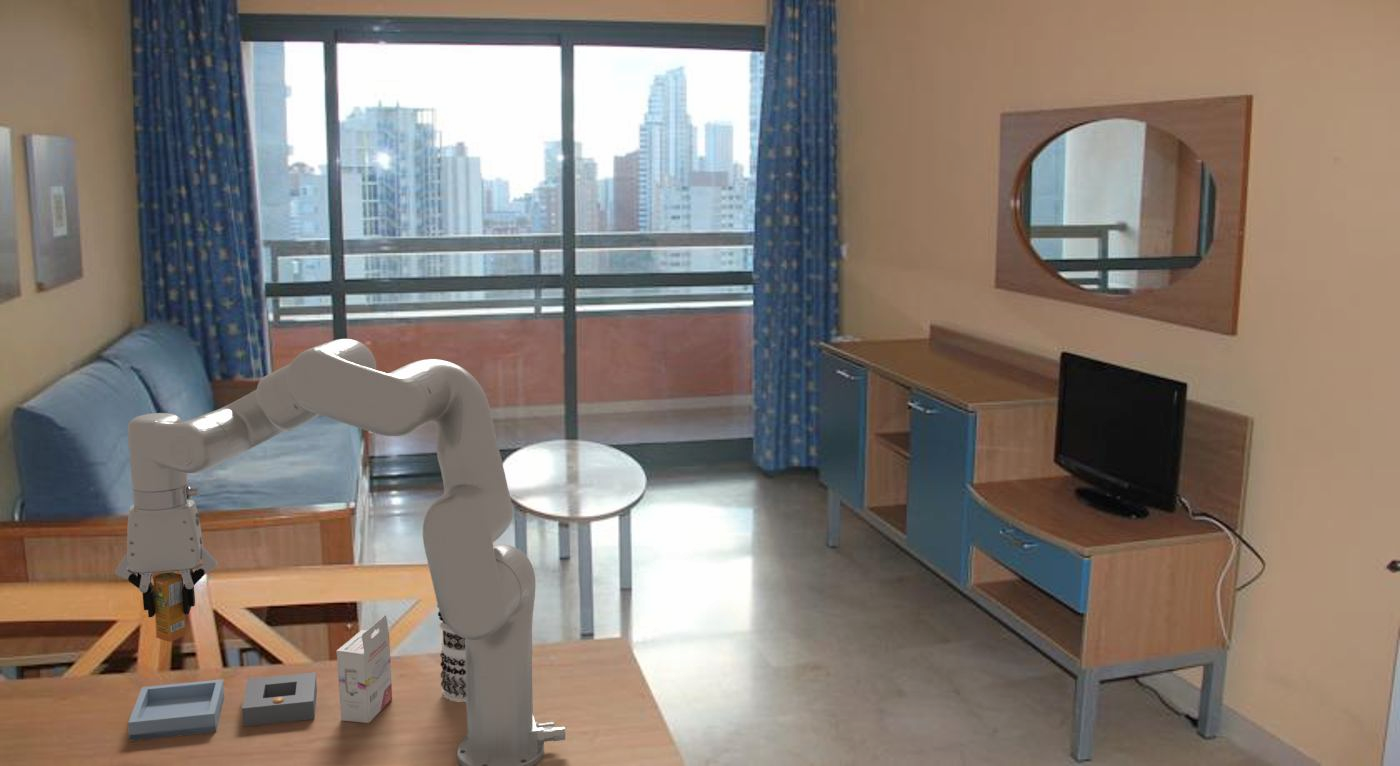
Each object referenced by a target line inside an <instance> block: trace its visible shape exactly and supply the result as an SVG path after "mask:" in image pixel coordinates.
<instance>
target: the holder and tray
mask: <svg viewBox="0 0 1400 766" xmlns="http://www.w3.org/2000/svg"><path fill="white" fill-rule="evenodd" d="M224 684H225V683H224V679H223V678H221V679H213V680H203V681H192V682H191V681H190V682H181V683H170V684H161V685H160V684H159V685H150V686H142V687H141V688H140V692H139V694H138V697H137V699H136V702H135V703H134V707H133V709H132V711H131V714H130V717H129V719H128V723H127V725H128V736H129V741H130V740H136V741H141V740H140V739H143V740H142V741H144V739H145V740H152V739H153V740H154V738H155V739H162V738H172V736H173V737H181V735H183V736H190V735H198V734H208V733H216V732H217V729H218V726H219V725H218V724H219V721H220V716H221V712H222V709H223V706H224V705H223V704H224V700H225V685H224ZM317 687H318V686H317V672H316V671H315V672H306V673H304V672H303V673H296V674H295V673H294V674H285V675H276V676H274V675H273V676H266V677H256V678H247V683H246V687H245V693H244V697H243V701H242V706H241V714H242V716H241V717H242V727H253V726H261V725H269V724H279V723H290V722H297V721H298V722H299V721H309V720H314V719H315V715H316V705H317V704H316V703H317V692H318V688H317ZM179 735H180V736H179Z"/></svg>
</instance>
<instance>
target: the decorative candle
mask: <svg viewBox="0 0 1400 766" xmlns="http://www.w3.org/2000/svg"><path fill="white" fill-rule="evenodd" d="M436 605H437V606H436V607H437V608H438V610H439V607H438V604H436ZM437 616H438V619H439V620H440V622H439V627H440V629H441V630H442V641H441V651H440V654H439V656H440V658H441V662H440V666H441V669H442V670H441V672H440V677H441V681H440V685H441V687H442V689H441V695H442V694H443V695H444V696H443V695H442V696H443V698H444V697H445V698H447V699H446V700H448V699H449V700H448V701H450V700H452V701H451V702H453V701H459V702H466V669H465V638H462V637H460V636H458V635H457V634H455V633H454V632H453V631H452V630H451V629H450V628H449V627H448V626H447V624H446V623H445V621H444V620H443V618H442V615H441V613H440V610H439V611H438V612H437ZM445 698H444V699H445ZM459 702H458V703H459Z"/></svg>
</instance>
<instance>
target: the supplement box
mask: <svg viewBox="0 0 1400 766" xmlns="http://www.w3.org/2000/svg"><path fill="white" fill-rule="evenodd" d="M152 578H153V579H152V580H153V585H154V602H155V615H154V617H155V638H157V639H159V640H162V641H165V642H168V643H169V642H170V643H171V642H174V641H175V640H176V641H177V640H179V639H181V638H184V637H186V635H187V628H186V627H187V625H186V614H184V612H183V599H182V589H183V587H184V581H183V578H182V575H181V573H176V572H175V571H171V572H161V573H160V574H157V575H155V576H152Z"/></svg>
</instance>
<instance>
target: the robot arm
mask: <svg viewBox="0 0 1400 766" xmlns="http://www.w3.org/2000/svg"><path fill="white" fill-rule="evenodd" d="M320 416H322V417H324V418H328V419H330V420H333V421H336V422H340V423H343V424H346V425H349V426H352V427H355V428H358V429H361V430H365V431H366V432H369V433H373V434H376V435H380V436H386V437H402V436H406V435H408V434H411V433H413V432H415V431H416V430H417V431H418V429H420V428H423V426H425V425H427V424H429V423H431V422H433V423H434V425H435V429H436V455H437V456H436V457H437V462H438V465H439V468H440V472H441V473H440V474H441V478H442V483H443V494H442V495H441V496H439V497H438V498H437V499H436V500H434V502H432V504H431V505H430V506H429V508H428V510H427V511H426V513H425V515H424V519H423V523H422V541H423V548H424V553H425V557H426V560H427V565H428V569H429V574H430V579H431V582H432V586H433V591H434V595H435V599H436V603H437V604H436V605H438V607H439V608H438V607H437V608H438V610H440V613H441V615H442V618H443V620H444V621H445V623H446V624H447V626H448V627H449V628H450V629H451V630H452V631H453V632H454V633H455V634H457V635H458V636H460V637H462V638H465V669H466V737H465V738H463V740H462V741H461V742H460V743H459V744H458V746H457V749H456V758H457V759H456V760H457V761H458V764H459V765H461V766H534V765H536V764H538V762H540V761H541V759H543V756H544V753H545V742H559V741H566V729H565V726H556V727H555V722H554V721H547V722H543V723H542V722H541V723H539V722H538V721H535V717H534V715H533V709H534V708H533V704H534V703H533V660H532V659H533V657H532V656H533V620H534V619H533V618H534V607H535V599H536V587H537V583H536V575H535V570H534V567H533V564H532V562H531V560H530V559H529V557H528V556H527V555H526V554H525V553H524V552H523V551H522V550H521V549H519V548H518V547H515V546H513V545H510V544H509V545H508V544H496V545H494V543H495V542H497V540H498V539H500V538H501V537H502V535H503V534H504V533H505V532H506V531H507V530H508V529H509V527H510V525H511V523H512V520H513V504H512V499H511V494H510V491H509V486H508V481H507V477H506V473H505V468H504V464H503V459H502V455H501V452H500V448H499V444H498V441H497V436H496V430H495V425H494V420H493V414H492V410H491V407H490V404H489V400H488V398H487V395H486V393H485V391H484V389H483V387H482V386H481V385H480V383H479V381H478V380H477V379H476V378H475V377H474V375H472V374H471V373H470V372H469V371H468V370H466V369H465V368H463V367H462V366H460V365H458V364H456V363H454V362H451V361H449V360H448V361H447V360H444V359H443V360H442V359H439V358H438V359H437V358H429V359H428V358H427V359H426V358H425V359H420V360H417V361H413V362H411V363H408V364H406V365H404V366H401V367H399V368H397V369H395V370H393V371H390V372H389V373H386V372H384V371H380V370H377V361H376V359H375V356H374V354H373V352H372V351H371V350H370V348H368V346H366V344H365V343H363V342H360V341H358V340H356V339H351V338H339V339H335V340H330V341H327V342H326V343H322V344H320V345H316V346H314V347H311V348H308V349H306V350H303V351H302V352H301V353H299V354H298V355H296V357H295V358H293V360H292V361H291V362H290V363H288V364H286V365H285V366H282V367H280V368H278V369H277V370H273V371H272V372H271V373H269V374H267V375H265V376H263V377H262V378H260V380H259V382H258V384H257V387H256V389H255V390H253V391H251V392H249V393H248V394H246V395H244V396H242V397H241V398H239V399H236V400H235V401H233V402H231V403H229V404H226V405H224V406H223V407H220V408H218V409H215V410H213V411H210V412H207V413H205V414H202V415H200V416H197V417H194V418H192V419H189V420H185V421H182V419H181V418H180V416H178V415H176V414H173V413H168V412H167V413H165V412H156V413H154V412H152V413H146V414H141V415H137V416H135V417H134V418H132V419H131V420H130V421H129V422H128V425H127V440H128V452H129V462H130V463H129V464H130V474H131V486H132V498H133V499H132V500H133V504H132V505H130V506H129V510H128V515H127V516H128V517H127V518H128V519H127V528H126V530H127V535H126V536H127V537H126V538H127V539H126V540H127V541H126V543H127V544H126V554H125V555H124V557H122V559H121V561H120V562H119V564H118V566H117V567H116V568H115V570H114V573H115V575H117V576H119V577H120V578H123V579H124V580H126V581H127V580H128V582H129V583H131V585H133V586H134V587H136V588H137V589H139V592H140V593H142V601H143V603H142V605H143V610H144V611H147V615H148V618H153V617H155V602H154V583H152V580H153V579H152V578H153V574H154V573H165V572H171V571H172V572H179V573H180V574H181V575H182V578H183V589H182V599H183V612H184V614H185V615H190V613H191V610H192V607H195V605H196V598H195V597H196V596H195V586H196V584H197V583H198V582H199V581H200V580H201V579H202V578H203V577H204V576H205V575H206V574H208V573H209V572H211V571H212V570H214V569H215V568H216V567H217V564H218V561H217V559H216V558H215V557H214V555H212V554H211V553H210V551H209V550H208V549H207V548H206V547H205V546H204V542H203V534H202V528H201V522H200V521H201V520H200V515H199V511H198V508H197V505H196V502H195V500H193V499H191V498H194V497H198V496H199V495H200V494H199V493H200V489H199V487H198V486H197V487H196V486H195V487H194V486H191V485H190V484H189V481H188V474H197V473H202V472H205V471H207V470H209V469H212V468H213V467H216V466H218V465H220V464H222V463H223V462H226V461H228V460H231V459H232V458H235V457H238V456H239V455H242V454H243V453H245V452H247V451H250V450H251V449H253V448H255V447H257V446H258V445H261V444H262V443H264V442H267V441H268V440H270V439H272V438H274V437H276V436H278V435H280V434H282V433H284V432H290V431H293V430H295V429H296V428H298V427H300V426H302V425H304V424H306V423H309V422H310V421H312V420H313V419H316V418H317V417H320ZM201 561H202V562H203V564H202V565H201ZM200 565H201V566H200Z"/></svg>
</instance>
